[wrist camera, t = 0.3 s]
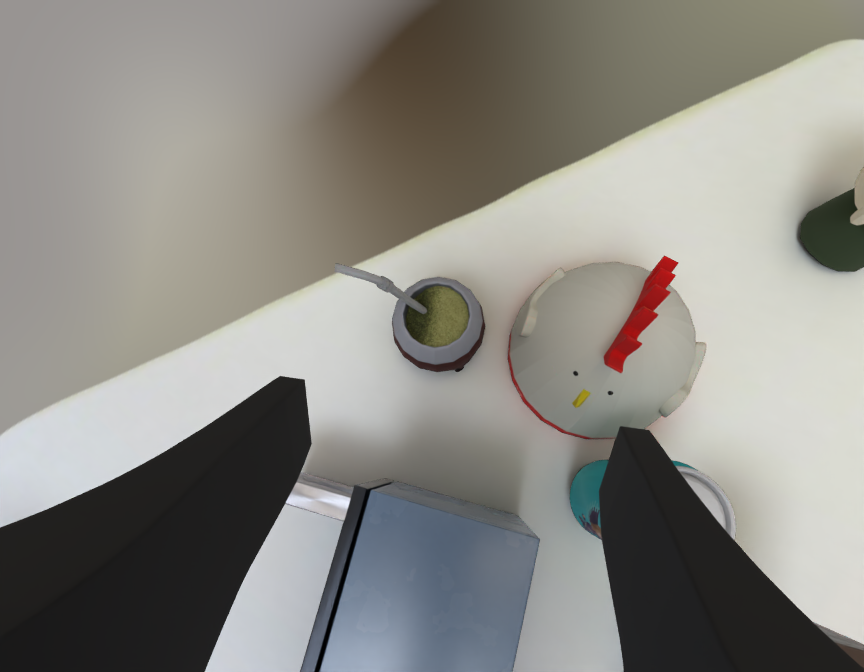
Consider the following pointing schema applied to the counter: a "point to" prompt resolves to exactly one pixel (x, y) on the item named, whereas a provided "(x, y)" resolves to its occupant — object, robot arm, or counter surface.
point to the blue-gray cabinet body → (432, 586)
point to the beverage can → (708, 491)
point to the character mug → (838, 230)
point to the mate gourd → (432, 320)
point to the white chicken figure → (604, 349)
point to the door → (351, 510)
